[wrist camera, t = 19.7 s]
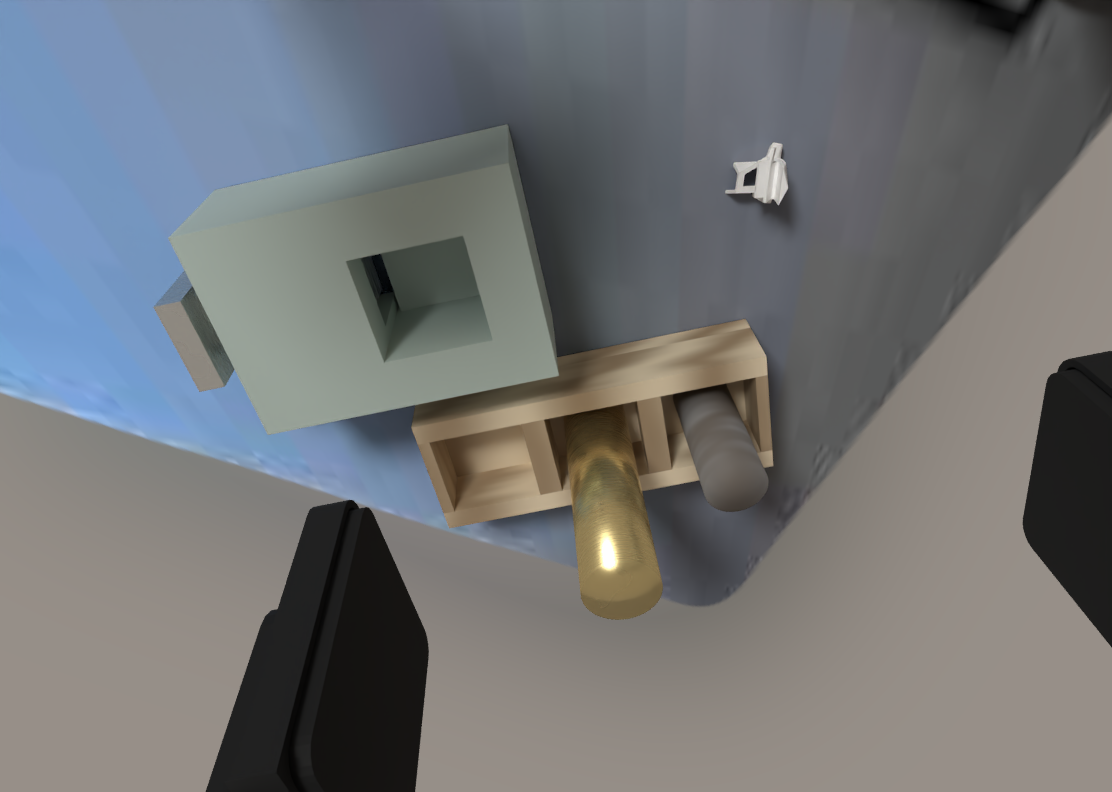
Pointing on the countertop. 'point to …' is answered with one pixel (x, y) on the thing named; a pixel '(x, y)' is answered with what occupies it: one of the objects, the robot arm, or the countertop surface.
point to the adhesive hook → (764, 176)
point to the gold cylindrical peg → (610, 516)
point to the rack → (651, 412)
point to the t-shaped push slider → (209, 330)
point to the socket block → (345, 292)
